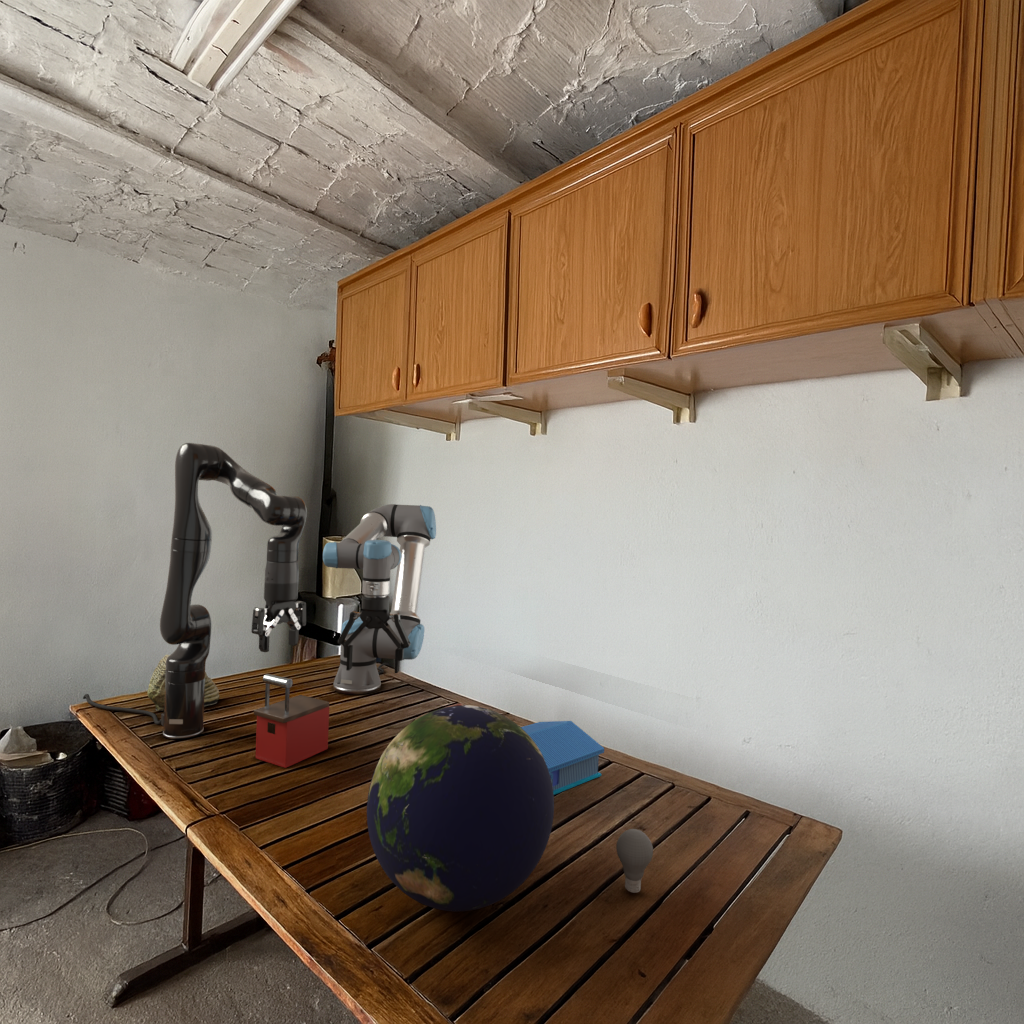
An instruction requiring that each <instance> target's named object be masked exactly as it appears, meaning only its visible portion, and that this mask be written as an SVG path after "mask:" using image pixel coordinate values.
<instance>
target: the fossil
mask: <svg viewBox="0 0 1024 1024" xmlns="http://www.w3.org/2000/svg"><path fill="white" fill-rule="evenodd" d="M170 655H171V654H165V655H164V656H163V657H162V658H161V659H160V660H159V662H158V663H157V666H156V667H155V669H154V670H153V672H152V675H151V677H150V680H149V684H148V688H147V697H148V699H149V700H150V701H152V703H153V704H154V706H155V711H158V712H159V711H162V712H163V711H164V705H165V674H166V660H167V658H168V657H169V656H170ZM220 698H221V696H220V690H219V688H218V686H217V685H216V683H215V682H214V681H213V679H212V678H211V677H209V675H208V674H207V672H206V671H205V693H204V707H207V706H213V705H215V704H217V703H218V701H219V699H220Z"/></svg>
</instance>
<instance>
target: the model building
mask: <svg viewBox="0 0 1024 1024" xmlns="http://www.w3.org/2000/svg"><path fill="white" fill-rule="evenodd" d="M520 727H521V728H522V729H523V730H524V731H525V732H526V733H527V734H528V735H529V736H530V737H531V739H532V740H533V741H534V742H535V744H536V745H537V747H538V748H539V750H540V752H541V753H542V755H543V757H544V760H545V763H546V765H547V767H548V770H549V774H550V777H551V782H552V786H553V794H554V796H555V795H557V794H560V793H562V792H565V791H568V790H569V789H572V788H575V787H578V786H580V785H582V784H584V783H588V782H589V781H591V780H594V779H597V778H600V777H602V773H601V772H599V760H600V758H599V757H600V755H602V754H604V753H605V748H604V746H602V745H601V744H600V743H599V742H597V740H595V739H594V738H593V737H591V735H589V734H588V733H586V732H585V731H584V730H583V729H582V728H580V727H579V726H578V725H576V724H575V722H573V721H572V720H554V721H552V720H551V721H537V722H534V723H531V724H528V725H527V724H526V725H523V726H520Z"/></svg>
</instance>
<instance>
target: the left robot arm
mask: <svg viewBox="0 0 1024 1024" xmlns="http://www.w3.org/2000/svg"><path fill="white" fill-rule="evenodd" d="M199 481H206V482H207V481H208V482H210V481H215V482H219V483H222V484H225V485H227V486H228V487H229V490H230V492H231V494H232V495H233V497H234V498H235V499H236V500H238V501H239V502H240V503H242V504H244V505H246V506H247V507H249V508H250V509H252V510H253V511H254V513H255V514H256V515H257V516H258V518H259V519H260V520H261V521H262V522H263V523H265V524H267V525H270V526H276V527H277V526H281V528H280V530H279V533H277V534H276V535H273V536H270V537H269V538H268V540H267V543H266V560H265V561H266V562H265V568H264V586H263V587H264V588H263V599H264V601H265V606H264V607H257V606H256V607H254V608H253V609H252V619H251V631H250V633H252V634H254V635H258V649H259V651H260V652H262V653H269V651H270V635H271V632H272V631H273V629H275V628H276V626H277V625H280V624H282V623H286V624H287V625H288V627H289V629H288V645H289V646H293V647H294V646H297V645H298V643H299V638H300V637H299V632H300V629H301V628H302V627H306V625H307V603H306V601H302V600H298V598H299V571H300V570H299V544H300V541H301V538H302V535H303V531H304V528H305V525H306V522H307V518H308V517H307V516H308V509H307V505H306V503H305V501H304V500H303V499H302V498H301V497H300V496H296V495H278V493H277V491H276V489H275V488H274V487H273V486H272V485H270V484H269V483H267V482H266V481H264V480H262V479H260V478H259V477H257V476H255V475H253V474H252V473H250V472H249V471H247V470H246V469H245V468H243V466H241V465H239V463H238V462H237V461H235V460H234V459H233V458H232V457H231V456H230V455H229V454H228V453H227V452H225V451H224V450H223V449H222V448H220V447H219V446H216V445H211V444H204V443H195V442H185V443H183V444H182V445H180V446H179V448H178V450H177V453H176V456H175V463H174V498H175V499H174V513H173V524H172V533H171V539H170V540H171V543H170V555H169V567H168V574H167V583H166V588H165V594H164V600H163V603H162V608H161V614H160V618H159V631H160V635H161V637H162V639H163V641H164V642H165V643H167V644H168V645H172V646H176V645H178V646H176V648H175V650H174V651H173V652H172V653H170V654H169V655H170V656H169V657H168V658H167V660H166V674H165V705H164V710H163V713H161V714H160V720H159V718H158V716H157V714H156V713H154V712H152V711H149V710H145V709H144V710H143V709H138V708H130V707H121V706H111V705H105V704H100V703H99V702H95V701H93V700H92V699H91V697H90V695H89V694H88V693H85V694H84V695H83V697H82V699H83V700H85V701H86V702H87V704H89V705H91V706H93V707H95V708H98V709H101V710H107V711H114V712H125V713H132V714H133V713H134V714H139V715H146V716H149V717H151V718H152V720H153V722H154V724H155V725H157V726H160V725H161V726H162V727H163V731H162V737H164V738H166V739H169V740H185V739H190V738H191V739H192V738H194V737H197V736H199V735H202V734H203V732H204V730H205V729H204V722H205V721H204V718H205V706H204V693H205V672H206V664H207V663H206V662H207V659H208V657H209V654H210V649H211V648H210V647H211V639H212V617H211V614H210V612H209V610H208V609H207V608H206V607H205V606H204V605H201V604H196V603H195V604H192V597H193V592H194V589H195V587H196V585H197V583H198V581H199V579H200V578H201V576H202V574H203V573H204V570H205V569H206V567H207V565H208V562H209V560H210V558H211V557H210V556H211V552H212V541H213V529H212V526H211V524H210V522H209V520H208V518H207V516H206V514H205V512H204V510H203V508H202V506H201V503H200V499H199Z"/></svg>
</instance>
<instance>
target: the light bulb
mask: <svg viewBox="0 0 1024 1024" xmlns="http://www.w3.org/2000/svg"><path fill="white" fill-rule="evenodd" d="M615 849H616V854H617V857H618V859H619V861H620V863H621V865H622V867H623V873H624V874H623V875H624V876H625V878H624V888H625V890H627V891H628V892H630V893H634V894H635V893H639V892H640V891H641V889H642V887H641V886H642V879H643V877H644V875H645V871H646V868H647V867H648V866H649V864H650V863H651V861H652V859H653V855H654V847H653V843H652V841H651V838H649V836H648V835H647V834H646V833H645V832H643V831H642V830H641V829H636V828H629V829H627V830H625V831H623V832H622V833H621V834H620V835H619V837H618V839H617V841H616V847H615Z"/></svg>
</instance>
